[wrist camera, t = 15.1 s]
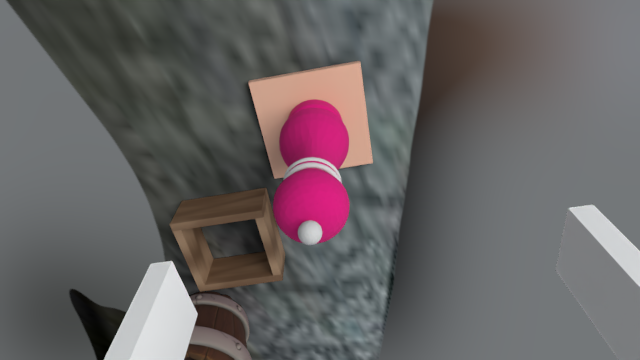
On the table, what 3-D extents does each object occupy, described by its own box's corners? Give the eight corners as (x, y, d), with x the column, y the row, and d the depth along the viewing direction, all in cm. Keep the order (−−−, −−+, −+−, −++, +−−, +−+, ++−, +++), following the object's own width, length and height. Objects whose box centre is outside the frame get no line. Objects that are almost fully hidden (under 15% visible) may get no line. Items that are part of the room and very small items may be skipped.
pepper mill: (316, 80, 43) (311, 177, 26) (360, 127, 45) (382, 243, 28) (269, 123, 45) (236, 237, 28) (313, 165, 48) (308, 292, 31)
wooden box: (181, 201, 51) (169, 224, 47) (266, 187, 50) (261, 210, 46) (208, 265, 57) (200, 291, 52) (285, 254, 56) (282, 280, 52)
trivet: (249, 80, 44) (248, 82, 43) (359, 60, 43) (360, 62, 42) (274, 175, 49) (274, 178, 49) (372, 159, 49) (372, 163, 48)
